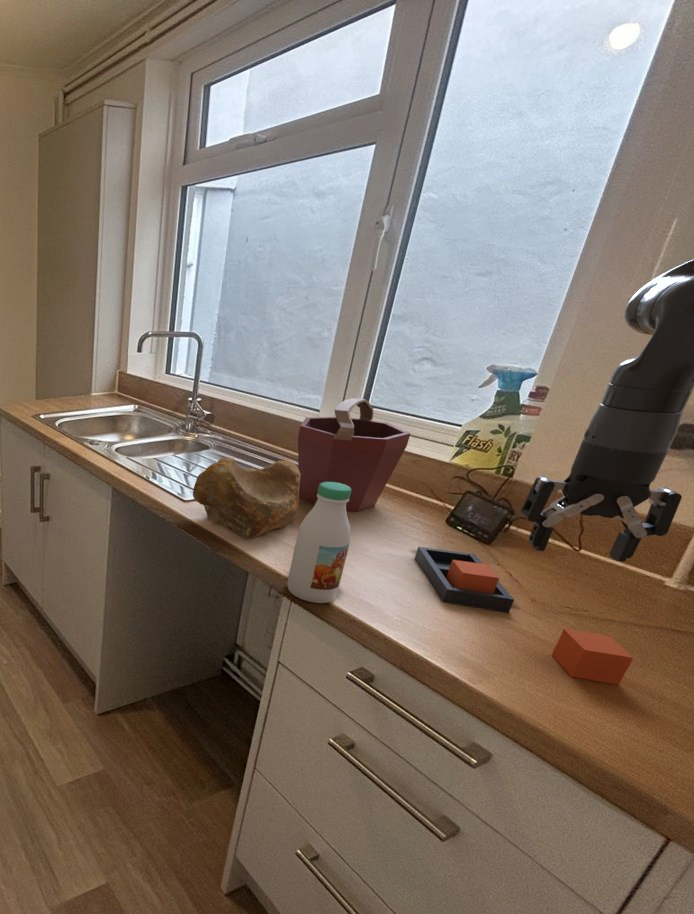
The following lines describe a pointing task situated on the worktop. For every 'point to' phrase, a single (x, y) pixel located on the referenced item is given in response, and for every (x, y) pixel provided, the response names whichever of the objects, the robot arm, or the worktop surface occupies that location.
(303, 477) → the bucket
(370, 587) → the worktop surface
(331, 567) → the milk bottle
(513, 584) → the worktop surface
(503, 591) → the frame
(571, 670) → the orange block
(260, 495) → the rough brown rock
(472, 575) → the orange square block
